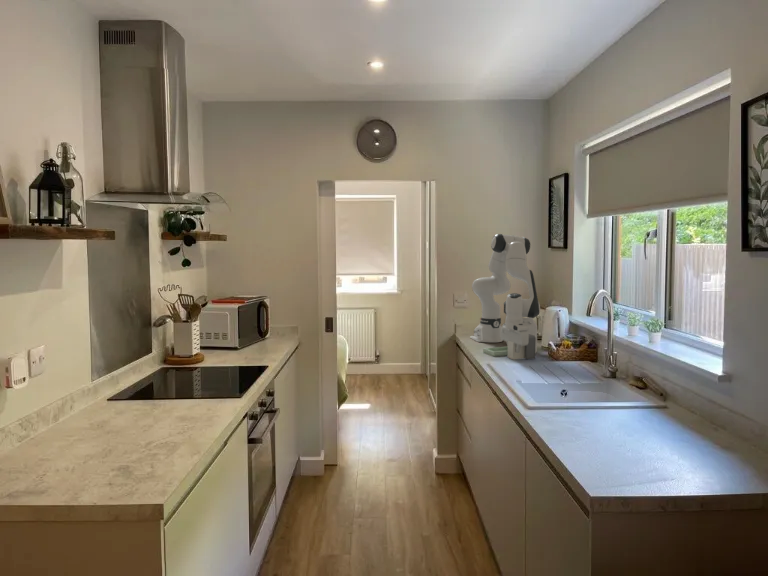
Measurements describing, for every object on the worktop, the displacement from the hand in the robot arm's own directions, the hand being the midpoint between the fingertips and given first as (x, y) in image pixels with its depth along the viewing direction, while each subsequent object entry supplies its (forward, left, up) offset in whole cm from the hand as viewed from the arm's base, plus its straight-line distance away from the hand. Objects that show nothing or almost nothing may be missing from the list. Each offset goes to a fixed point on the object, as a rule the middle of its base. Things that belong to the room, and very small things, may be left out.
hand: (513, 351), depth 286 cm
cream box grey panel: (0, +3, -4) cm, 5 cm away
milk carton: (-10, +16, -4) cm, 19 cm away
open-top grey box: (0, +7, -4) cm, 8 cm away
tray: (-13, +1, -4) cm, 14 cm away
